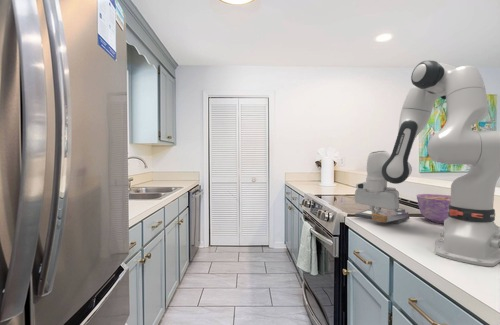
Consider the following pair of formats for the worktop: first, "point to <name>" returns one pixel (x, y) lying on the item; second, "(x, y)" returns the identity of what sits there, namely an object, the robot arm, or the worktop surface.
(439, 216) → the purple bowl
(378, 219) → the swing arm
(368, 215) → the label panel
